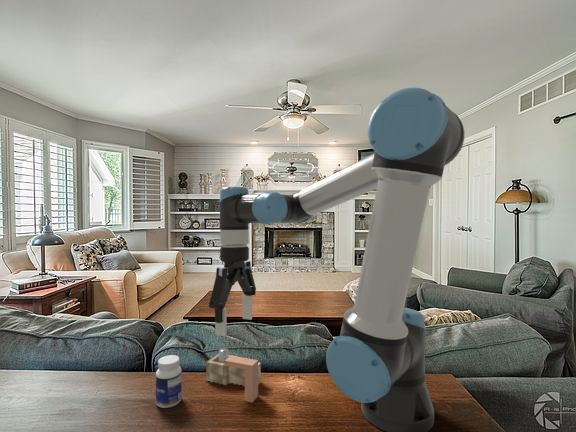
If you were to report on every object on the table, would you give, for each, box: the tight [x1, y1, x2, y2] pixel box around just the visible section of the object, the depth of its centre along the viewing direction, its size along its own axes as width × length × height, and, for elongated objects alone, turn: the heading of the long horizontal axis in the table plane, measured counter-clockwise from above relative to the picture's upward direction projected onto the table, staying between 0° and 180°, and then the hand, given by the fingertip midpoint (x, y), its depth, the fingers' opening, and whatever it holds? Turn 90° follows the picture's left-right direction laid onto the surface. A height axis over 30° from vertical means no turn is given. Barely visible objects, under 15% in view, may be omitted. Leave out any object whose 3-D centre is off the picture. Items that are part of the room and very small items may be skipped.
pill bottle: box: [155, 354, 183, 409], centre depth 76 cm, size 6×6×10 cm
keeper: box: [224, 355, 259, 404], centre depth 78 cm, size 8×3×9 cm, turn 69°
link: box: [205, 353, 262, 387], centre depth 86 cm, size 14×6×5 cm, turn 69°
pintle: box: [218, 347, 229, 363], centre depth 87 cm, size 2×2×8 cm
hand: (235, 326), depth 85 cm, fingers open, 13 cm apart
